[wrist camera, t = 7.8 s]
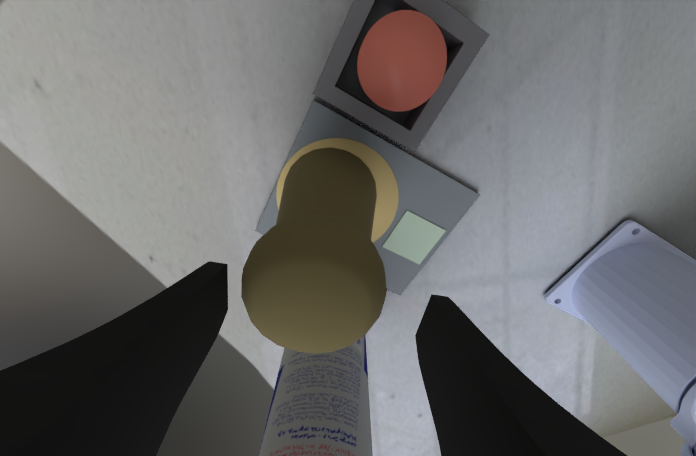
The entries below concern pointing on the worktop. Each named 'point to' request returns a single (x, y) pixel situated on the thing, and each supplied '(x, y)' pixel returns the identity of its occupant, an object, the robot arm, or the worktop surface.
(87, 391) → the robot arm
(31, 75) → the worktop surface
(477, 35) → the button housing
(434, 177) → the grey kitchen scale
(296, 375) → the beverage can
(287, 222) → the olive knobbed peg
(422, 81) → the button
